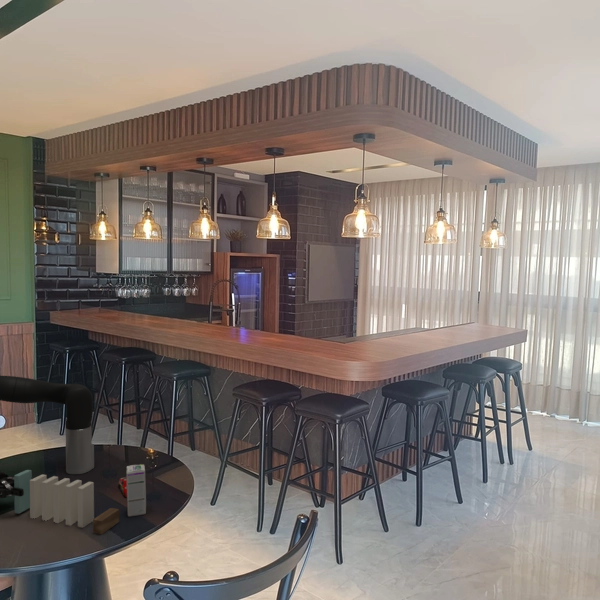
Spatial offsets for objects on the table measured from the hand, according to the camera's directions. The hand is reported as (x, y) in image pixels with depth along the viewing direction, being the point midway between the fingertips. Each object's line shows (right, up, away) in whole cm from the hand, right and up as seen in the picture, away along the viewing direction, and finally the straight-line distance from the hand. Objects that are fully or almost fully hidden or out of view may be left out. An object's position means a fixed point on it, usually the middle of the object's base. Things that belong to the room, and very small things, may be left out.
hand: (29, 489), depth 161 cm
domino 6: (+20, -8, -6) cm, 23 cm away
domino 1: (-3, -7, +1) cm, 7 cm away
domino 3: (+7, -8, -2) cm, 11 cm away
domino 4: (+12, -8, -3) cm, 15 cm away
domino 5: (+16, -8, -5) cm, 19 cm away
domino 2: (+3, -8, -1) cm, 9 cm away
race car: (+25, -8, +18) cm, 32 cm away
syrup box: (+33, -8, +2) cm, 34 cm away
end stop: (+27, -9, -8) cm, 30 cm away
